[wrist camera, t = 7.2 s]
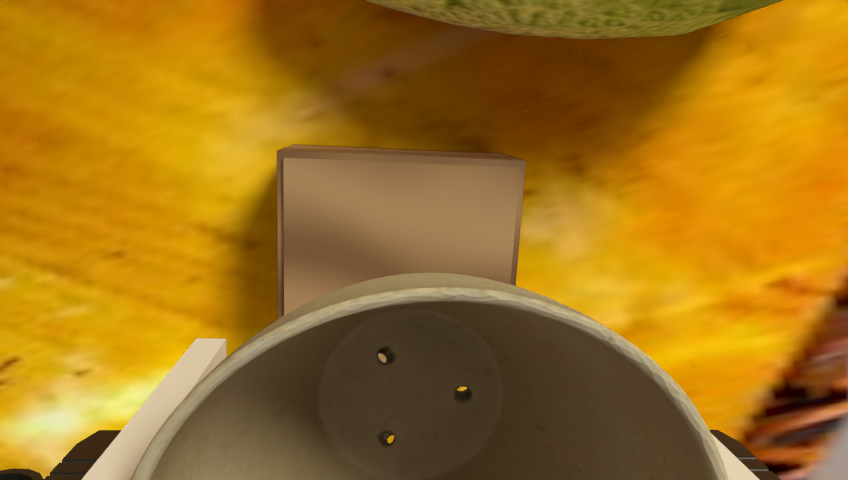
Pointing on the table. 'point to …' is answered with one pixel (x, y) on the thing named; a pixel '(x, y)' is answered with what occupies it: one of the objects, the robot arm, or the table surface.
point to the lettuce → (580, 15)
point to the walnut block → (392, 217)
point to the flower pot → (434, 395)
